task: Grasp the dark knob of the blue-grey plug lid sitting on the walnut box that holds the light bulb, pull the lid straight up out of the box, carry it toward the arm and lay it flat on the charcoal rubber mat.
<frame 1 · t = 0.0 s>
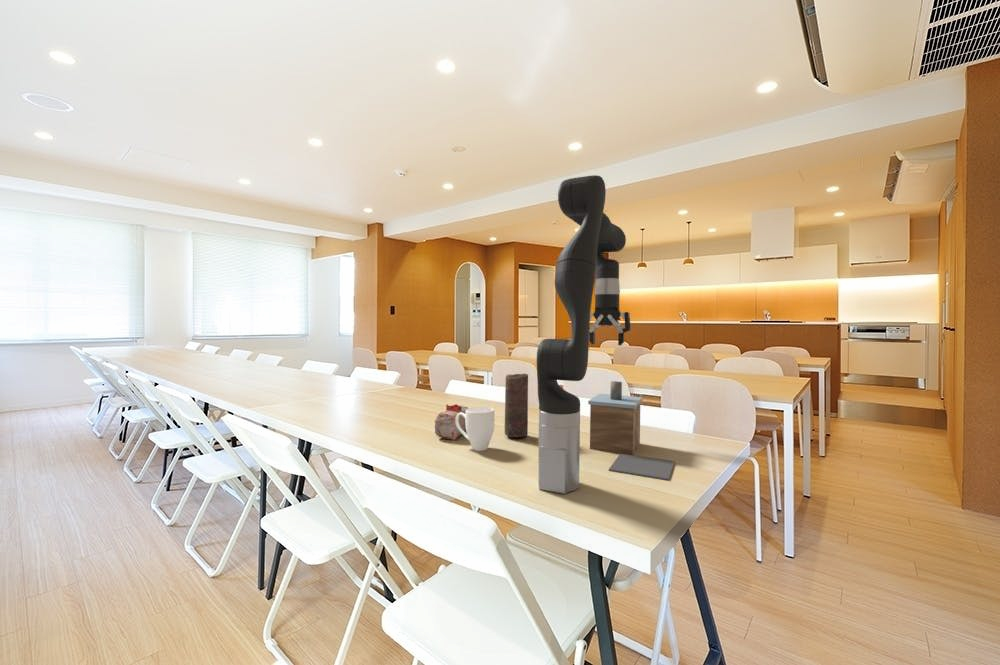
hand: (606, 344, 138), 29 cm above the table, fingers open, 8 cm apart
mat: (642, 466, 112), on the table
box: (615, 446, 129), on the table
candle: (516, 437, 138), on the table
lid: (615, 406, 129), point 12 cm above the table, touching box
mug: (474, 448, 127), on the table
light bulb: (615, 446, 129), resting in box
food item: (453, 435, 141), on the table
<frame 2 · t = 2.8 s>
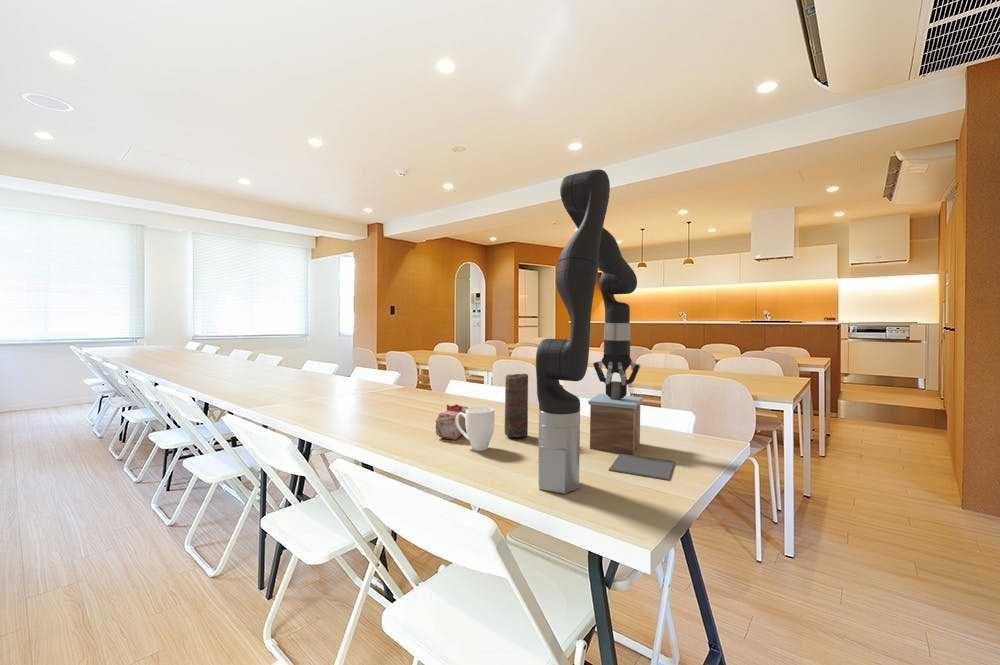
hand: (616, 396, 129), 15 cm above the table, fingers closed on lid, 3 cm apart
lid: (615, 406, 129), point 12 cm above the table, touching box, gripper
everything else where it was.
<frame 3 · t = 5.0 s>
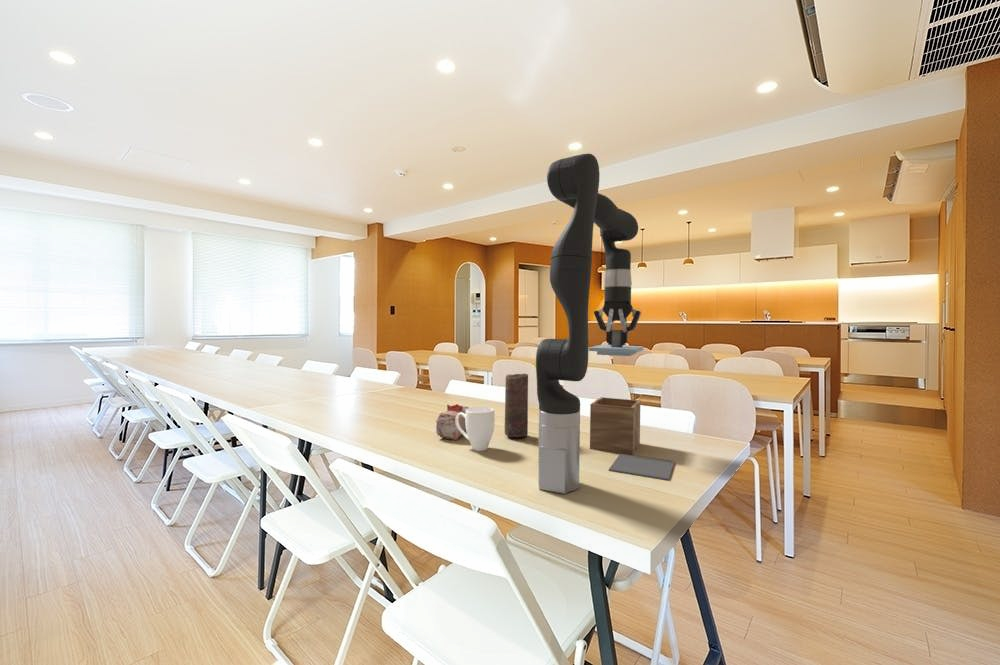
hand: (616, 344, 128), 30 cm above the table, fingers closed on lid, 3 cm apart
lid: (616, 354, 128), point 27 cm above the table, touching gripper
everything else where it was.
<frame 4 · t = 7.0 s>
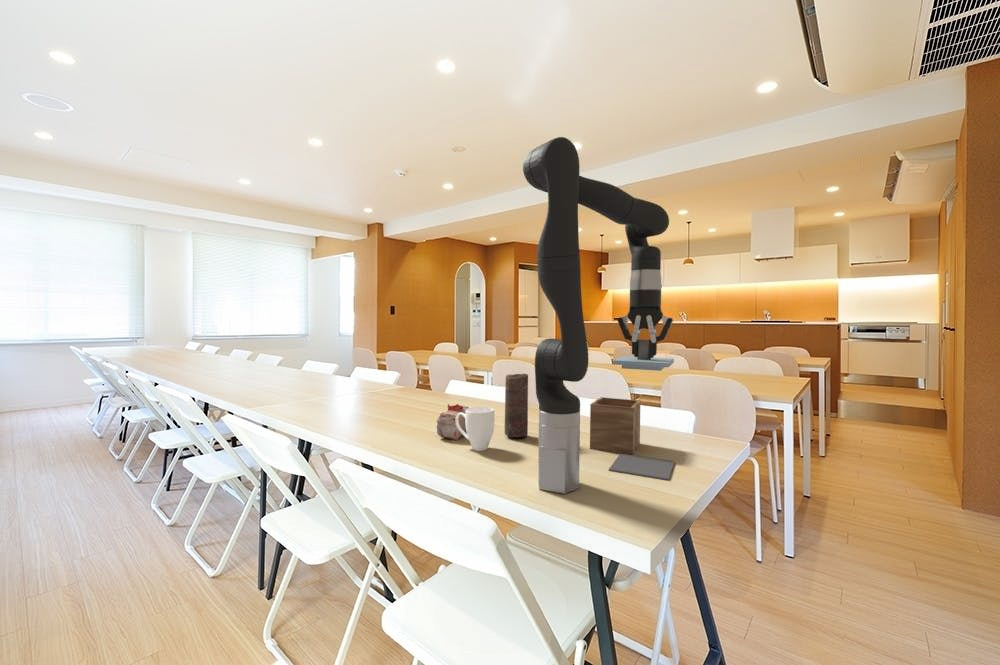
hand: (644, 356, 111), 28 cm above the table, fingers closed on lid, 3 cm apart
lid: (643, 367, 111), point 25 cm above the table, touching gripper
everything else where it was.
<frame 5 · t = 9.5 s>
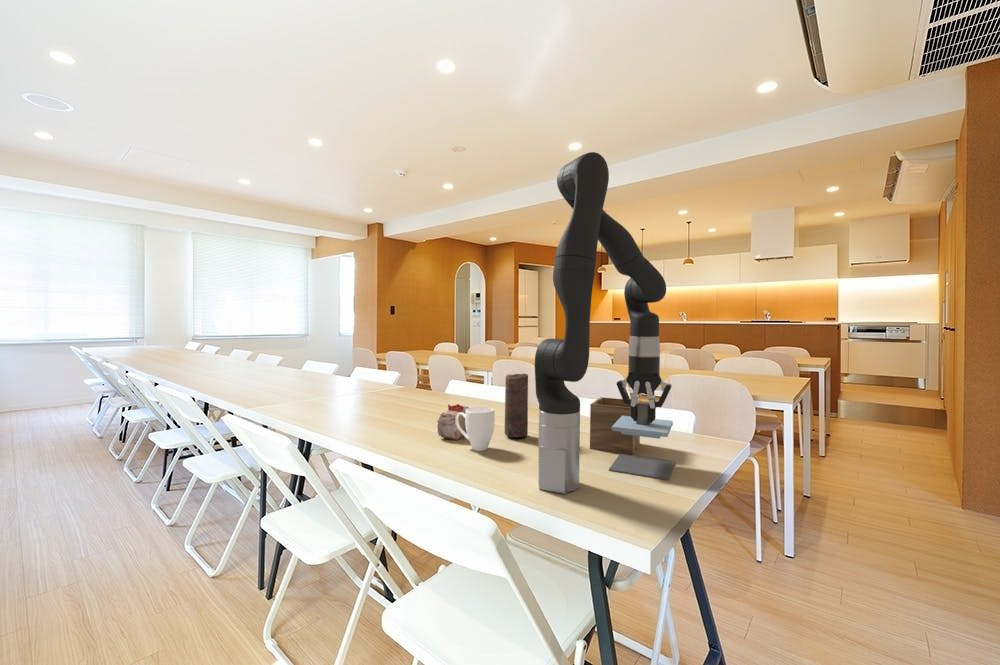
hand: (643, 421, 111), 12 cm above the table, fingers closed on lid, 3 cm apart
lid: (642, 431, 112), point 9 cm above the table, touching gripper
everything else where it was.
when the fingers open (5 cm above the table, at t = 11.4 s): lid drops 1 cm, resting on mat.
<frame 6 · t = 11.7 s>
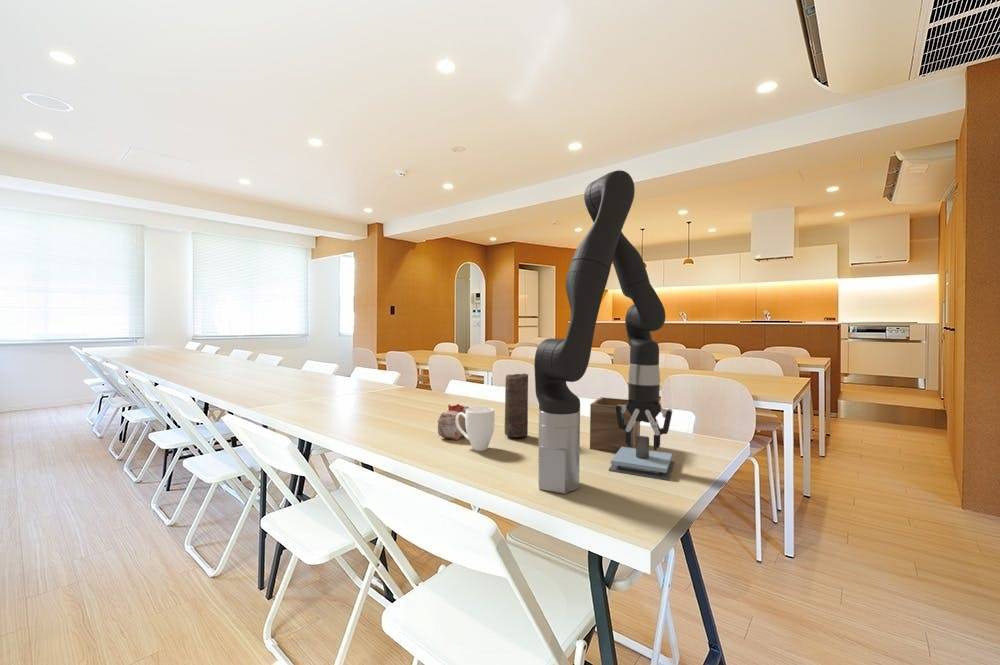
hand: (642, 447, 112), 5 cm above the table, fingers open, 5 cm apart
lid: (642, 464, 112), resting on mat
everything else where it was.
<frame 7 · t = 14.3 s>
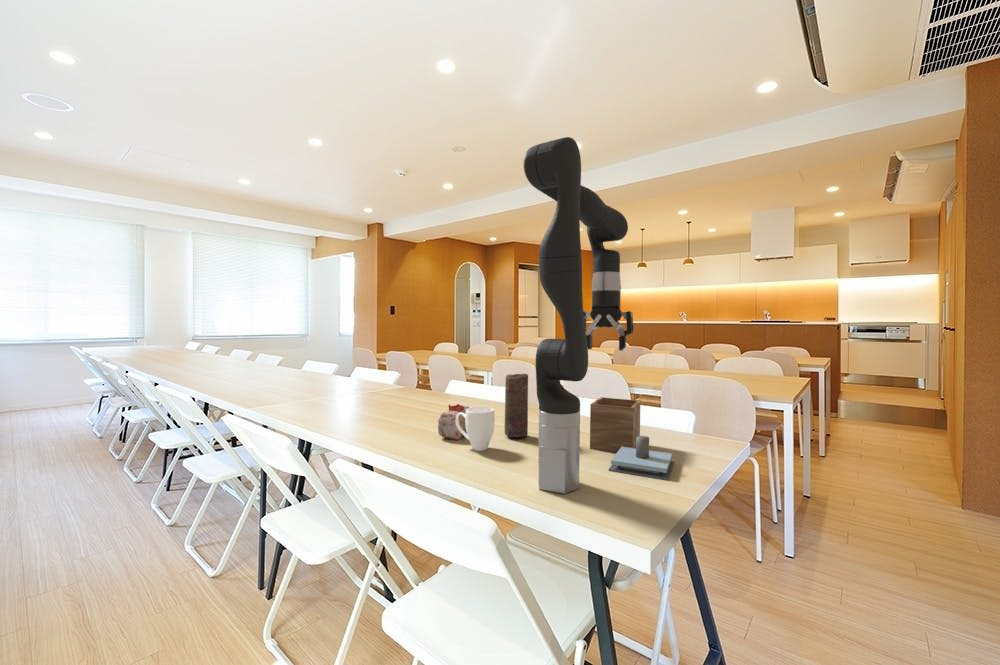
hand: (605, 349, 119), 29 cm above the table, fingers open, 8 cm apart
nothing on the table moved.
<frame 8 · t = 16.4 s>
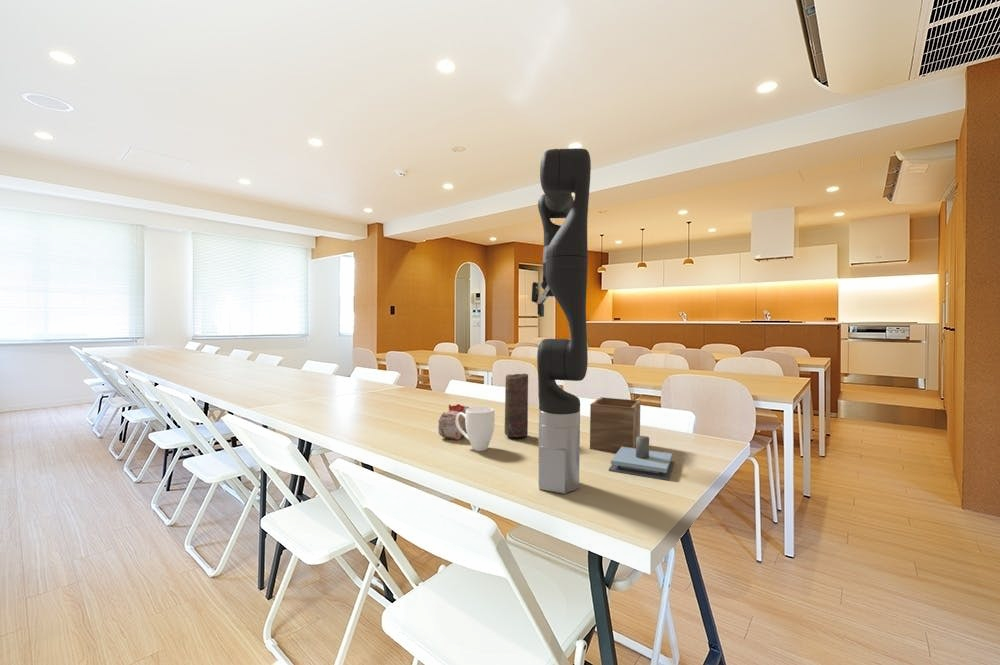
hand: (555, 316, 130), 38 cm above the table, fingers open, 8 cm apart
nothing on the table moved.
at the end: lid inside the target area on the mat (0.1 cm from its centre), point 0.4 cm above the mat's base; lid tilted 0°; the gripper is holding nothing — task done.
